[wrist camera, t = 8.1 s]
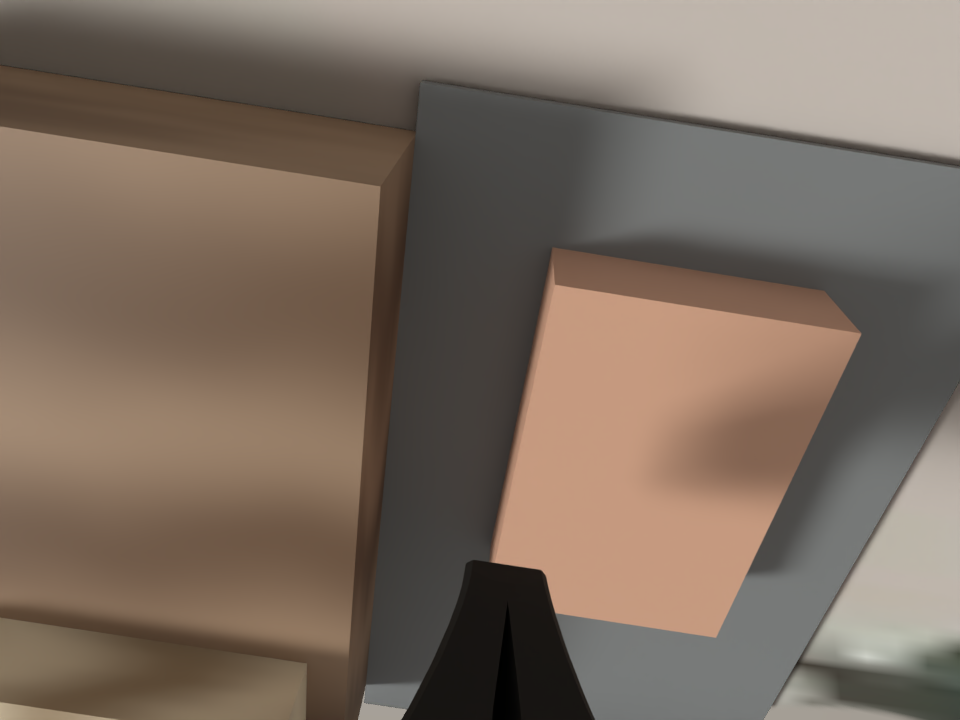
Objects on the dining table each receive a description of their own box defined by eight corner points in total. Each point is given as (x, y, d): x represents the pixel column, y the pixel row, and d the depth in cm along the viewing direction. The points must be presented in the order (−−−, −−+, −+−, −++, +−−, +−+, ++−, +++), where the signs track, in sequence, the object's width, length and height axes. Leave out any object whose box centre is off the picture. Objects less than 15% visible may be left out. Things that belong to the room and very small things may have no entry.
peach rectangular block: (486, 602, 18) (490, 545, 20) (716, 637, 18) (700, 578, 20) (554, 284, 13) (552, 247, 15) (861, 333, 13) (824, 291, 15)
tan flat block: (367, 676, 23) (338, 801, 20) (12, 623, 23) (-79, 739, 20) (417, 131, 14) (380, 185, 11) (-165, 38, 14) (-391, 64, 11)
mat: (738, 750, 24) (740, 759, 24) (365, 695, 24) (364, 702, 24) (1062, 182, 14) (1072, 186, 14) (422, 80, 14) (420, 82, 14)
